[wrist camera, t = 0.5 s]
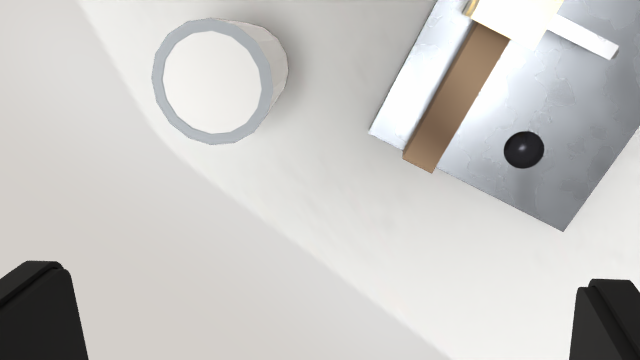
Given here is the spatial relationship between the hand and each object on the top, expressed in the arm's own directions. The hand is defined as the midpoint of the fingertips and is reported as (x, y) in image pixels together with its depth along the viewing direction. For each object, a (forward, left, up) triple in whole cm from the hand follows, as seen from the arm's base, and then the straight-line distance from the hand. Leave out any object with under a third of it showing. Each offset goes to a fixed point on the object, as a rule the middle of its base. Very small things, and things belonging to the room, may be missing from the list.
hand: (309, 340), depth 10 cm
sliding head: (-8, +6, -26) cm, 28 cm away
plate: (-8, +7, -27) cm, 29 cm away
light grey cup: (+3, -9, -28) cm, 29 cm away
